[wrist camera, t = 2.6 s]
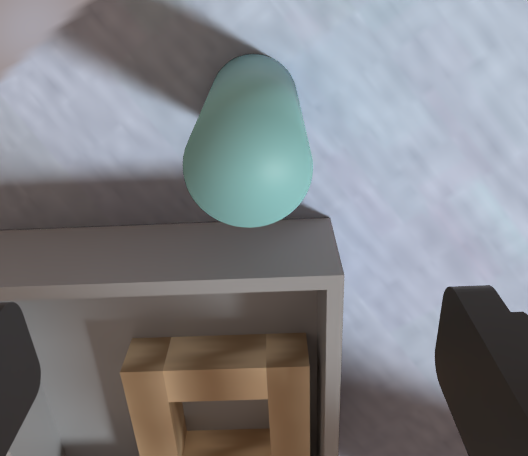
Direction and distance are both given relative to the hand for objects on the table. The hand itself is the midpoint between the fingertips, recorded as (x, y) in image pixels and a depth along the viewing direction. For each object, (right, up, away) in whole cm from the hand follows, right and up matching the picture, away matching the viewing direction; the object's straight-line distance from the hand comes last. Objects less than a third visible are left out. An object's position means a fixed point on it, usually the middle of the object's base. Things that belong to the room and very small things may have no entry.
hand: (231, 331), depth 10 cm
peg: (0, +9, +16) cm, 18 cm away
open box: (-5, -7, +24) cm, 26 cm away
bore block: (-2, -10, +25) cm, 27 cm away
